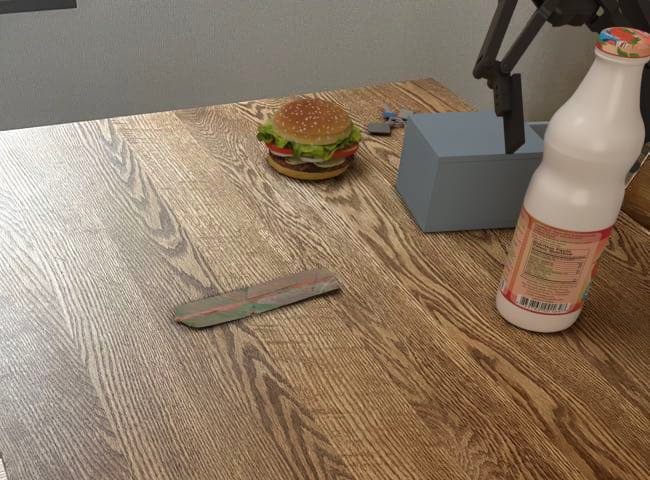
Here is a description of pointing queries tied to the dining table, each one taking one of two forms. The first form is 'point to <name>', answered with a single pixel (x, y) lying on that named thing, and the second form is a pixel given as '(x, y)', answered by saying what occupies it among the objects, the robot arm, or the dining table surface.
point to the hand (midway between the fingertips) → (579, 146)
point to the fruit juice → (576, 189)
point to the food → (310, 139)
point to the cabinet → (464, 171)
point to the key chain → (386, 125)
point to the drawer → (541, 129)
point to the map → (256, 298)
